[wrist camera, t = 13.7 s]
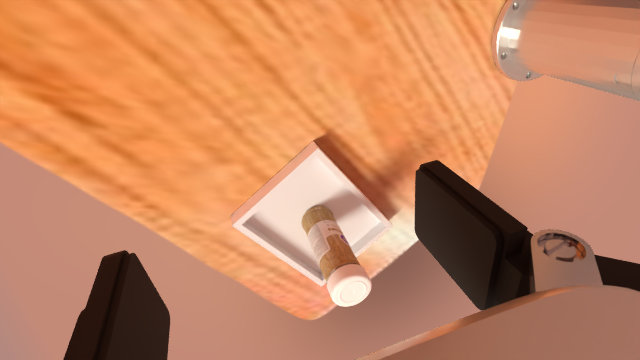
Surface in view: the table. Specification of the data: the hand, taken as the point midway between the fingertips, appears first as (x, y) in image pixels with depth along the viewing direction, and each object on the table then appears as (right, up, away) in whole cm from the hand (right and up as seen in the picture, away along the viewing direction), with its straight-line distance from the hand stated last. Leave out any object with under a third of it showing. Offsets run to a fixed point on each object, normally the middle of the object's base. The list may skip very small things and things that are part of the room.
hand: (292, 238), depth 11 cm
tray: (0, -3, +36) cm, 36 cm away
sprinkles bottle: (0, -3, +36) cm, 36 cm away
